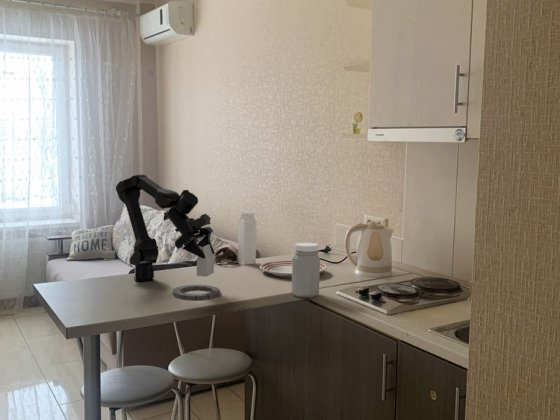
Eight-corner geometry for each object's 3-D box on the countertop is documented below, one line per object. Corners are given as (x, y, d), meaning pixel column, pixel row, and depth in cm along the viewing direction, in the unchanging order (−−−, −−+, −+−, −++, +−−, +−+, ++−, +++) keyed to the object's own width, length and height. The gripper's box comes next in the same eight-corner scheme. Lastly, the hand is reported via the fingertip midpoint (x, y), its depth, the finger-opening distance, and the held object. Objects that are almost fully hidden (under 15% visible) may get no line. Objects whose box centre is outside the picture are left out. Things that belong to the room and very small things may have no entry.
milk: (255, 264, 262) (257, 214, 260) (243, 265, 259) (244, 214, 257) (249, 261, 268) (250, 212, 265) (237, 262, 265) (238, 212, 262)
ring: (178, 301, 198) (178, 297, 198) (168, 289, 213) (168, 286, 213) (225, 297, 204) (225, 294, 204) (212, 286, 219) (212, 283, 219)
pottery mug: (240, 266, 258) (232, 251, 255) (220, 275, 259) (212, 260, 256) (239, 254, 270) (231, 239, 266) (220, 263, 270) (211, 248, 267)
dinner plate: (249, 277, 237) (250, 268, 237) (272, 264, 263) (272, 256, 263) (316, 283, 229) (317, 275, 228) (333, 270, 254) (333, 262, 254)
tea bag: (213, 272, 213) (214, 244, 211) (206, 276, 206) (207, 248, 205) (203, 271, 213) (204, 244, 212) (196, 275, 207) (197, 247, 206)
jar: (285, 294, 210) (286, 243, 208) (303, 289, 218) (305, 240, 216) (306, 299, 204) (308, 247, 202) (324, 294, 211) (326, 244, 209)
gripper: (183, 209, 200) (212, 245, 197) (208, 204, 217) (235, 237, 215) (162, 230, 203) (190, 266, 201) (188, 224, 221) (215, 256, 218)
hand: (209, 255), depth 209 cm, fingers closed on tea bag, 7 cm apart
